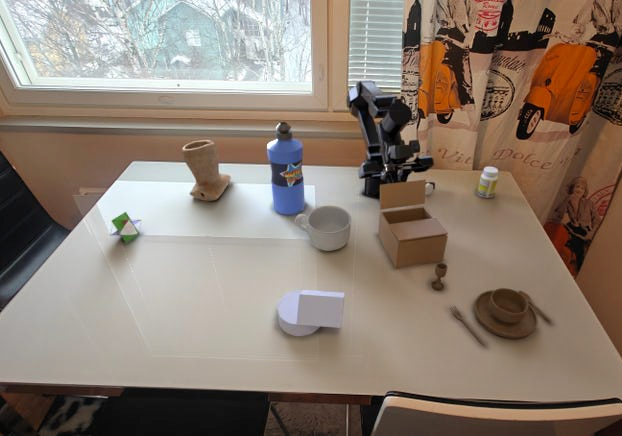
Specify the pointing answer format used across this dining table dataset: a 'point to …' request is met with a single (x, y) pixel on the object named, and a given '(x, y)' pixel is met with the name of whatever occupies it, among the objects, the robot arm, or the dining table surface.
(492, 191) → the supplement bottle
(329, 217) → the teacup
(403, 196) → the flap
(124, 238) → the geometric puzzle
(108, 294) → the dining table surface
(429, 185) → the watch
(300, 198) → the water bottle
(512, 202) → the dining table surface
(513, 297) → the place setting
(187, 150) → the stone cup
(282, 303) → the wedge on round base
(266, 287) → the dining table surface
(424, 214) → the carton
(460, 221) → the dining table surface
